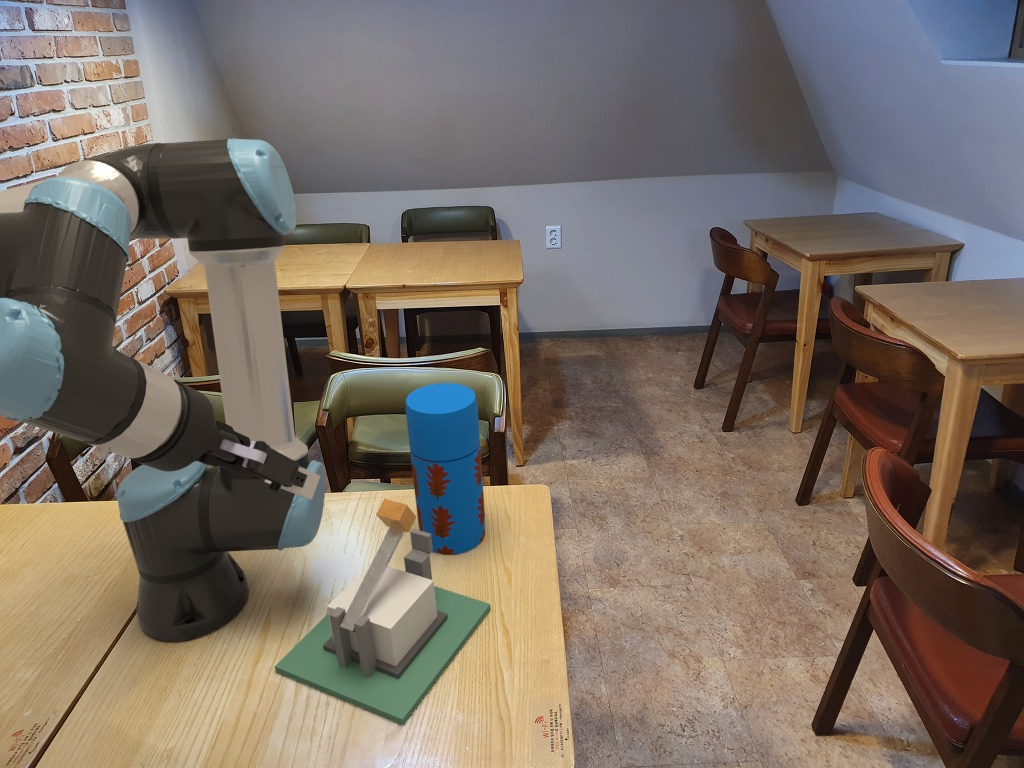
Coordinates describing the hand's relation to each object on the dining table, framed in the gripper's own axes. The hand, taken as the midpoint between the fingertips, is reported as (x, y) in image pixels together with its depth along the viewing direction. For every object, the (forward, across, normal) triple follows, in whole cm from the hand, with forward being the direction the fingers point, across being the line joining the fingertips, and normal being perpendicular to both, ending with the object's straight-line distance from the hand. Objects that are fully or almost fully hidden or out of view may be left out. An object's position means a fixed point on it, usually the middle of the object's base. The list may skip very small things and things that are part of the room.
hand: (310, 486), depth 85 cm
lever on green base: (+28, 0, -15) cm, 31 cm away
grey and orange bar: (+19, 0, -7) cm, 20 cm away
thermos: (+45, -4, +2) cm, 45 cm away
